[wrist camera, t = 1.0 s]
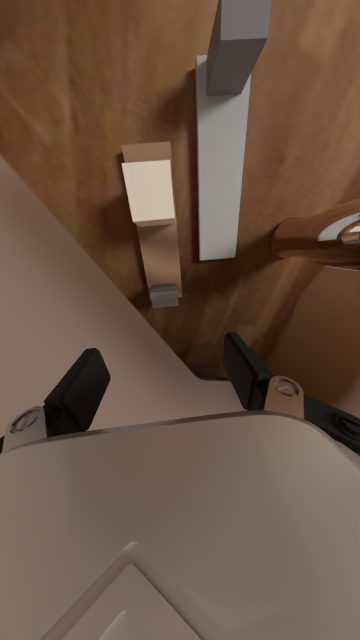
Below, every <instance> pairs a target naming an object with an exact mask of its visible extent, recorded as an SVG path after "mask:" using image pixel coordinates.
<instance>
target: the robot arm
mask: <svg viewBox="0 0 360 640" xmlns="http://www.w3.org/2000/svg"><path fill="white" fill-rule="evenodd" d="M223 365H224V368H225V370H226V372H227V374H228V376H229V378H230V380H231V382H232V384H233V387H234V388H235V391H236V393H237V395H238V397H239V399H240V402H241V404H242V406H243V408H244V409H247V411H241V412H231V413H222V414H213V415H206V416H198V417H190V418H182V419H174V420H166V421H159V422H151V423H144V424H137V425H130V426H121V427H114V428H107V429H99V430H92V431H86V430H88V429H89V427H90V425H91V423H92V421H93V418H94V416H95V414H96V411H97V409H98V407H99V405H100V402H101V400H102V398H103V395H104V393H105V391H106V388H107V386H108V384H109V381H110V374H109V372H108V369H107V367H106V365H105V363H104V360H103V358H102V356H101V353H100V351H99V350H97V349H96V348H90V349H86V350H85V351H84V352H83V353H82V354H81V356H80V357H79V358H78V359H77V361H76V362H75V363H74V364H73V366H72V367H71V368H70V369H69V371H68V372H67V373H66V374H65V376H64V377H63V378H62V379H61V381H60V382H59V383H58V384H57V385H56V387H55V388H54V389H53V391H52V392H51V393H50V394H49V395H48V397H47V398H46V399H45V400H44V403H45V405H44V406H43V407H41V406H36V407H33V408H30V409H28V410H26V411H24V412H23V413H21V414H20V415H18V417H16V418H15V419H14V420H13V421H12V422H11V423H10V424H9V425H8V427H7V428H6V431H5V435H4V436H3V437H2V438H0V640H360V419H359V418H357V417H355V416H353V415H351V414H349V413H346V412H344V411H342V410H339V409H337V408H335V407H333V406H330V405H328V404H326V403H323V402H321V401H319V400H317V399H314V398H312V397H310V396H307V395H305V394H303V390H302V388H301V387H300V386H299V385H298V384H297V383H296V382H294V381H293V380H291V379H289V378H287V377H283V376H274V375H273V374H272V373H271V372H270V370H269V369H268V368H267V367H266V366H265V364H264V363H263V362H262V361H261V360H260V358H259V357H258V356H257V355H256V353H255V352H254V351H253V350H252V349H251V348H249V347H248V346H247V345H246V344H245V342H244V341H243V340H242V339H241V338H240V336H239V335H238V334H237V333H236V332H228V333H227V334H226V335H225V337H224V353H223Z"/></svg>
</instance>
